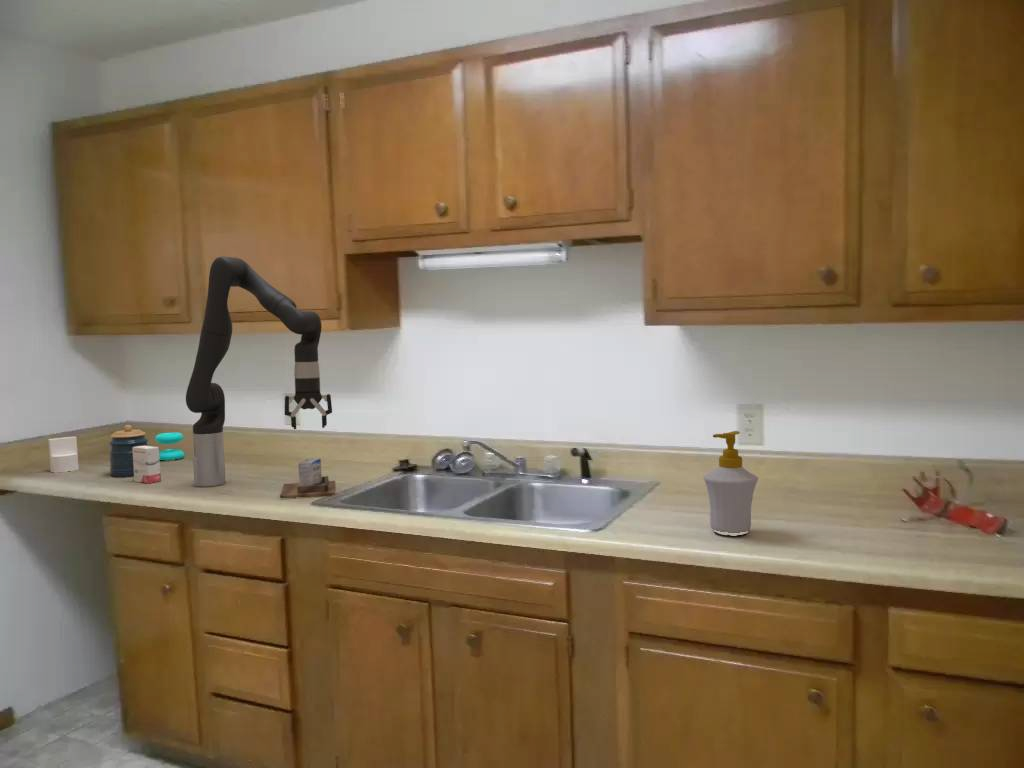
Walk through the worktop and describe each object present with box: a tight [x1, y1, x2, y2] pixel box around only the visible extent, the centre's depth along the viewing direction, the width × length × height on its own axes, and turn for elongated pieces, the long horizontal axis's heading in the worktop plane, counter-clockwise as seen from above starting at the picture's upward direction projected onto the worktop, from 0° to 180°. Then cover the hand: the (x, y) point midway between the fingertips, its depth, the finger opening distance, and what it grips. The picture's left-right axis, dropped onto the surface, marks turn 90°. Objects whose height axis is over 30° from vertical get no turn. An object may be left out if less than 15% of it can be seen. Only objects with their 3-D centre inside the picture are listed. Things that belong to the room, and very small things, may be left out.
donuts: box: [155, 431, 185, 461], centre depth 318 cm, size 10×10×10 cm
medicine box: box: [297, 457, 323, 486], centre depth 254 cm, size 8×4×9 cm, turn 173°
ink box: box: [132, 445, 162, 484], centre depth 275 cm, size 9×5×12 cm, turn 57°
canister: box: [108, 424, 150, 478], centre depth 289 cm, size 13×13×18 cm
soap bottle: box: [703, 430, 759, 533], centre depth 197 cm, size 13×13×25 cm
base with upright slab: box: [48, 436, 79, 473], centre depth 298 cm, size 9×9×12 cm
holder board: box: [279, 475, 336, 499], centre depth 255 cm, size 16×18×3 cm
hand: (309, 428), depth 253 cm, fingers open, 8 cm apart
